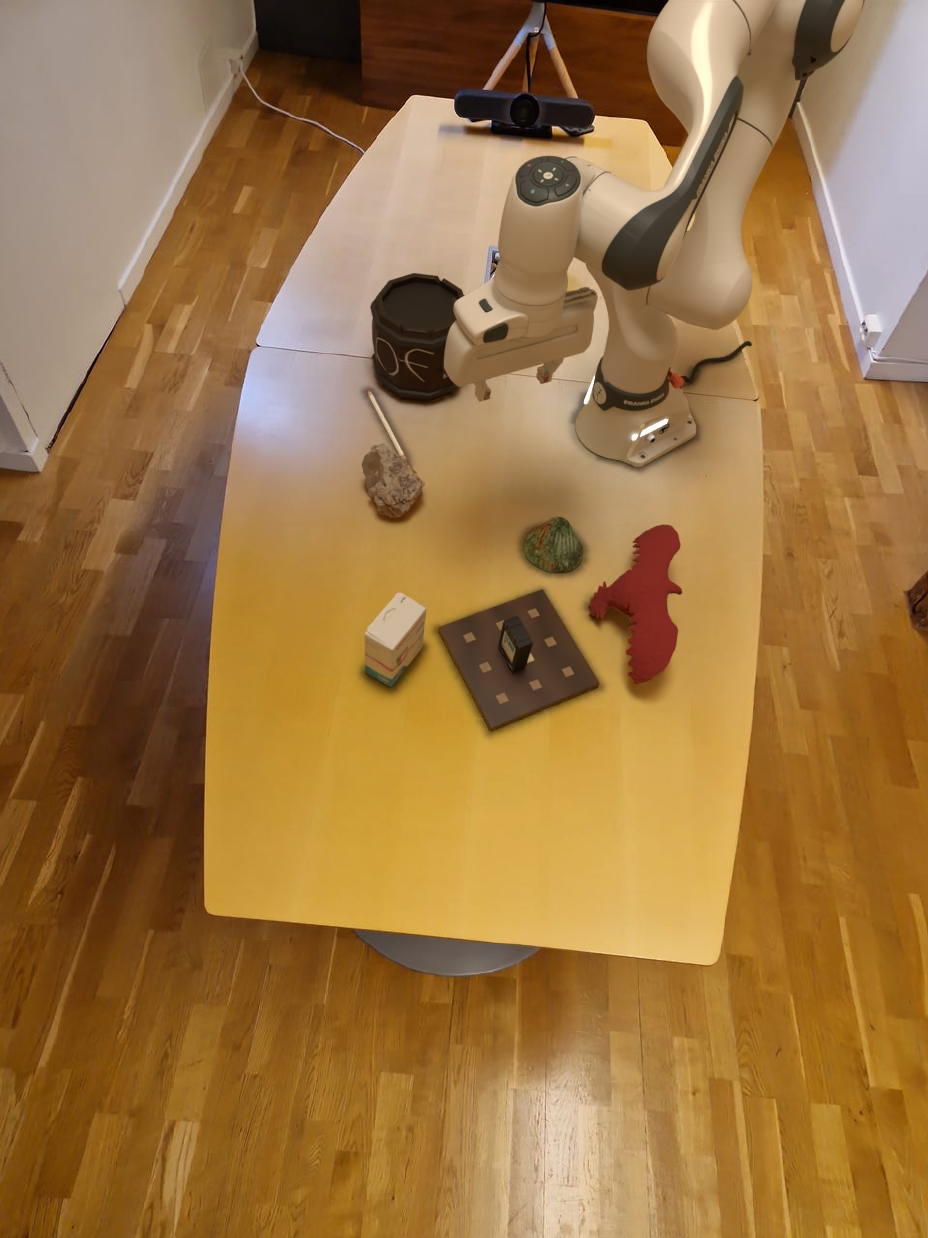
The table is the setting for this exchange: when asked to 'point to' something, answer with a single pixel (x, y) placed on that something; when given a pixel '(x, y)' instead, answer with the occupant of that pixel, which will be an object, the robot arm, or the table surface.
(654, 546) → the decorative bird sculpture
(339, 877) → the table surface
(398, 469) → the rock
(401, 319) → the wooden barrel
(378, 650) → the ink box
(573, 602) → the table surface
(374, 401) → the pencil
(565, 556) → the seashell
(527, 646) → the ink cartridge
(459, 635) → the board
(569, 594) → the table surface
